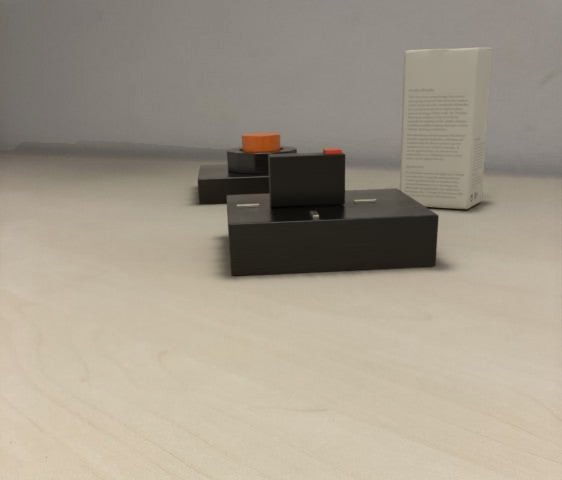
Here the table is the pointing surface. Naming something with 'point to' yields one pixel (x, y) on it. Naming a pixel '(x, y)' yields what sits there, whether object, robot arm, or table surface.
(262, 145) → the button
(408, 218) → the panel
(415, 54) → the cosmetic box
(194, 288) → the table surface
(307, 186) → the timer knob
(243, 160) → the button block
